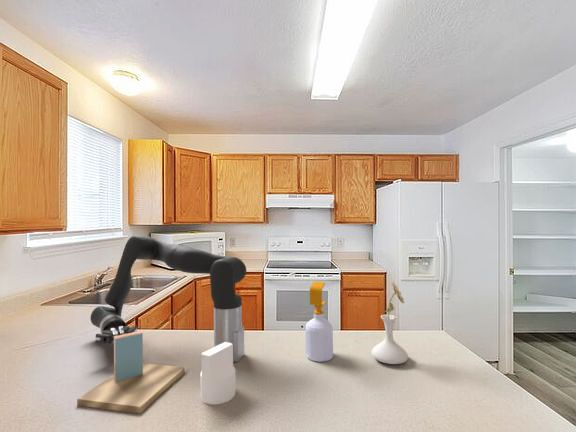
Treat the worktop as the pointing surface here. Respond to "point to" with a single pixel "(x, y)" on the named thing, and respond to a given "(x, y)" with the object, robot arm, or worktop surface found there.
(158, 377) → the board
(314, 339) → the soap bottle
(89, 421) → the worktop surface
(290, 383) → the worktop surface
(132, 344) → the tile
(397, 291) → the flower in vase
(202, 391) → the base with upright slab
